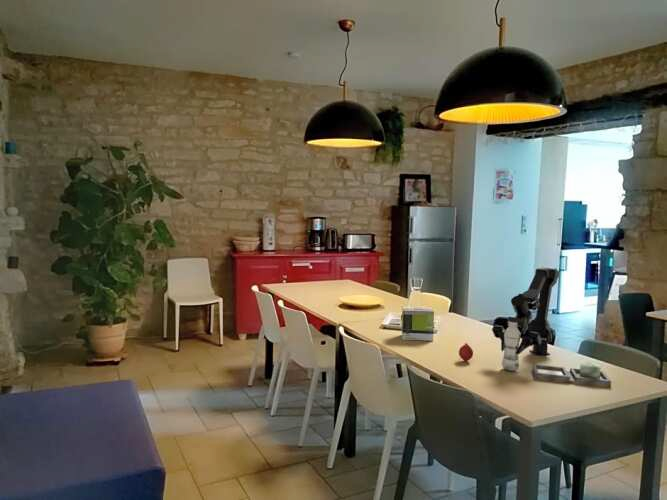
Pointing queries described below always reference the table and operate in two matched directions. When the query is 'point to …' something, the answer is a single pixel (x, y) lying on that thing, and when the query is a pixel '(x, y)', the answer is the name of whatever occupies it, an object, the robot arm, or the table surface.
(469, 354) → the onion
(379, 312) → the table surface
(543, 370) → the grey flat tray
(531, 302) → the robot arm
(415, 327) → the tea box
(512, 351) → the plastic bottle
